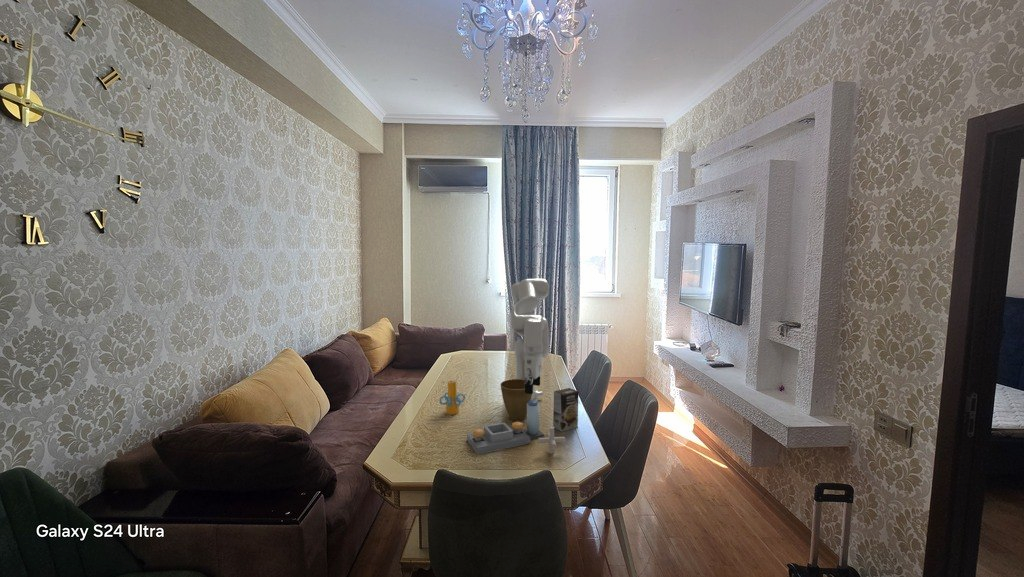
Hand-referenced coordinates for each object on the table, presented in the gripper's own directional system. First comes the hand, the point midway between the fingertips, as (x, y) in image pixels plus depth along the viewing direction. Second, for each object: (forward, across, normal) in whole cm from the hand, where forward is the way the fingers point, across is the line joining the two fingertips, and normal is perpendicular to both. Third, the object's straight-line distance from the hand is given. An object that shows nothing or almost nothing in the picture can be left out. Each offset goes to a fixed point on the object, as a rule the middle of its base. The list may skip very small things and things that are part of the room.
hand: (532, 389), depth 181 cm
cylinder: (+20, +8, +42) cm, 48 cm away
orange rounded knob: (+17, -18, +16) cm, 30 cm away
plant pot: (+20, +13, +12) cm, 27 cm away
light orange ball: (+18, -6, +4) cm, 19 cm away
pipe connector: (+19, -14, -12) cm, 26 cm away
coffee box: (+20, +11, -12) cm, 25 cm away
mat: (+19, -2, -1) cm, 19 cm away
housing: (+19, -12, +10) cm, 25 cm away
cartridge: (+18, -1, -1) cm, 18 cm away
